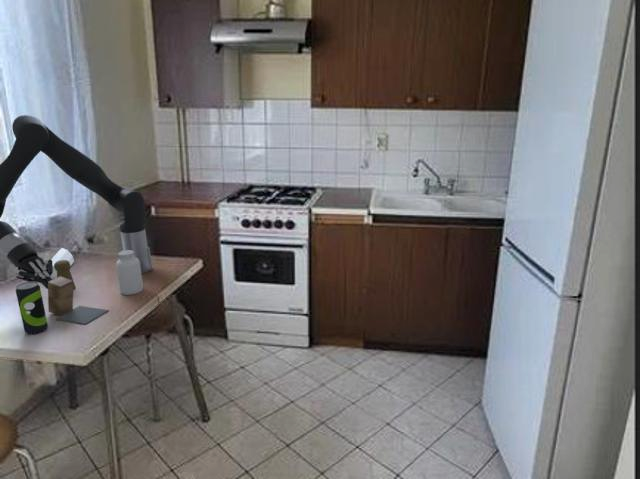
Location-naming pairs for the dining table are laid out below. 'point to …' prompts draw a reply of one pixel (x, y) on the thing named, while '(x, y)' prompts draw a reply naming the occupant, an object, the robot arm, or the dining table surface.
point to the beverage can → (31, 307)
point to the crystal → (61, 255)
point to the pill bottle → (129, 273)
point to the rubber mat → (82, 315)
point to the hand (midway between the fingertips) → (53, 288)
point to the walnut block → (60, 295)
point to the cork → (63, 270)
